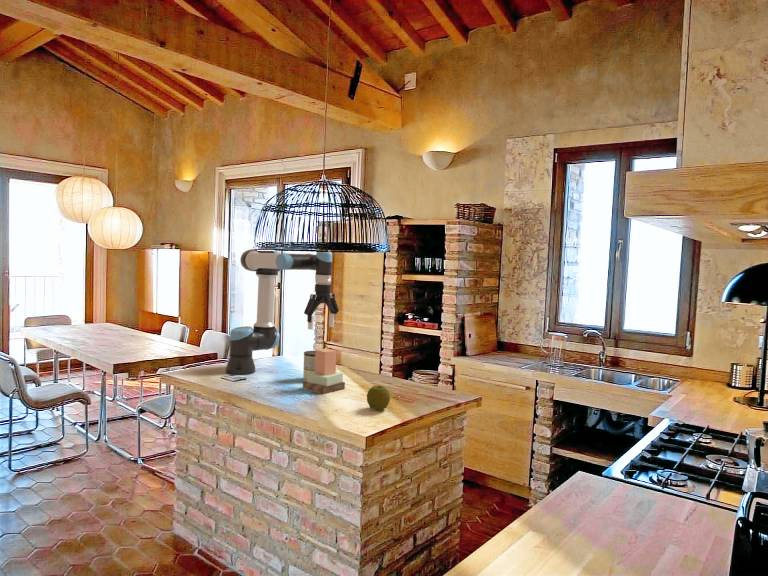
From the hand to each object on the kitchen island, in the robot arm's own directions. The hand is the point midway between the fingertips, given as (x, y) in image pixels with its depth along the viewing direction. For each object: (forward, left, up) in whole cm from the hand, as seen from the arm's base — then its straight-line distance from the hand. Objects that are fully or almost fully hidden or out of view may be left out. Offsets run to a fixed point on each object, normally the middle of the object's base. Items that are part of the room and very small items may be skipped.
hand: (321, 328), depth 272 cm
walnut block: (+3, 0, -30) cm, 30 cm away
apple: (+43, -6, -29) cm, 52 cm away
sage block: (+3, +1, -26) cm, 26 cm away
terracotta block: (+3, +1, -21) cm, 22 cm away
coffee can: (-14, +8, -29) cm, 33 cm away
